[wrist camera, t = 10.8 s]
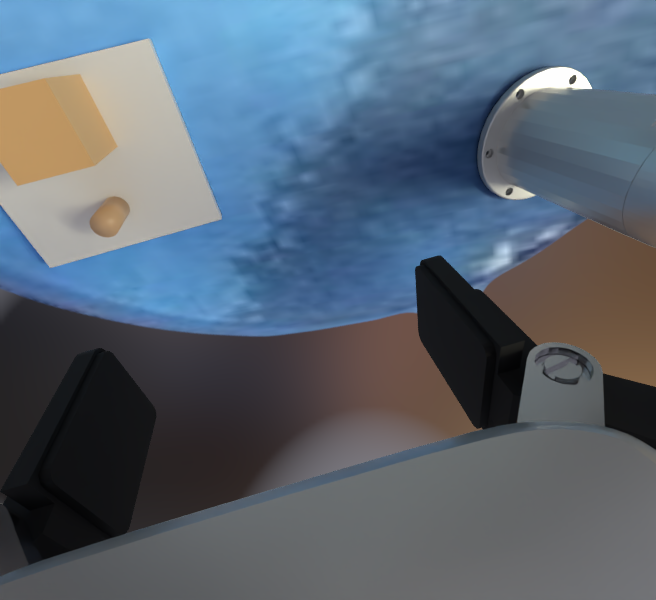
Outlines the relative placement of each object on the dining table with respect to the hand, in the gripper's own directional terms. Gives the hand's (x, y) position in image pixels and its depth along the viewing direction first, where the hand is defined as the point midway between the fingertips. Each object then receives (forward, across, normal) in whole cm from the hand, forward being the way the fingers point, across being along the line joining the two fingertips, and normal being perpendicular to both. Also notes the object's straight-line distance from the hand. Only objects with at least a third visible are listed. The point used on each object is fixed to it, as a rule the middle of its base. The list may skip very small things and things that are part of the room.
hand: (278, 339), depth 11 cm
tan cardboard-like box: (+24, +13, -6) cm, 28 cm away
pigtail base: (+25, +13, -2) cm, 29 cm away
